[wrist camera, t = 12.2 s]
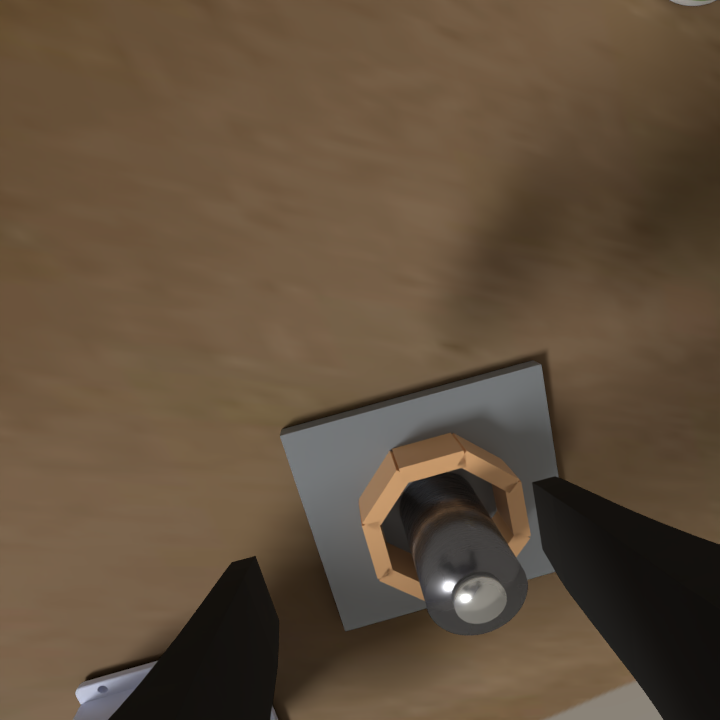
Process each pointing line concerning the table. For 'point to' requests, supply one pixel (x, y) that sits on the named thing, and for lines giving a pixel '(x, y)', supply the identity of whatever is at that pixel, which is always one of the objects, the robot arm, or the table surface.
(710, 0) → the supplement bottle
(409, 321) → the table surface
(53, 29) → the table surface
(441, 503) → the cell
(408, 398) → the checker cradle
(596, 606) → the robot arm
